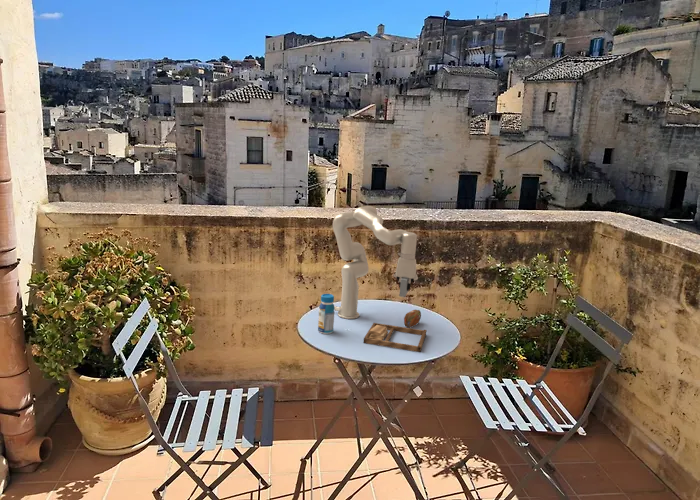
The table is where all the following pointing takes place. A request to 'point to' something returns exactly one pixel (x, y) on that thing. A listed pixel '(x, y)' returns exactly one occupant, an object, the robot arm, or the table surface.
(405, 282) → the grey rectangular block
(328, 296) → the beverage bottle
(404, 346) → the rack
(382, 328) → the offcut stack
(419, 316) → the tin
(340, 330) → the table surface
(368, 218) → the robot arm
